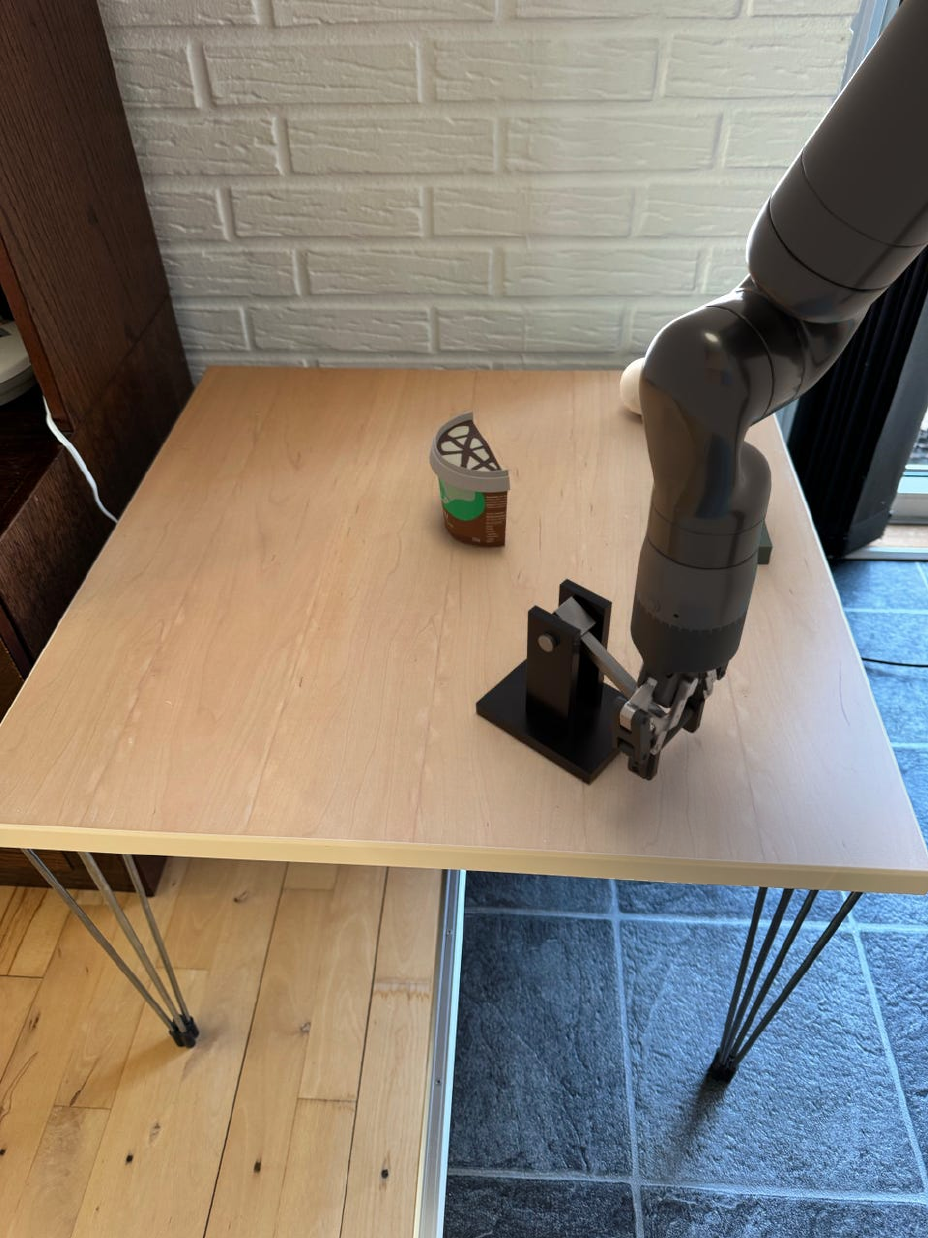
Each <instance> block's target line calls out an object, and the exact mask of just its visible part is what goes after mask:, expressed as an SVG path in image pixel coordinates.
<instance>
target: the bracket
mask: <svg viewBox="0 0 928 1238" xmlns="http://www.w3.org/2000/svg"><path fill="white" fill-rule="evenodd" d="M558 586H559V587H558V603H557V604H558V605H557V608H558V607H560V606H561V605H562V604H563V603H564V602H565V601H567V600H568V599H569V598H570V597H573V599H574V600H575V601H576V602H577V603H578V604H579V605H580V606H581V607H582V608H583V609H584V610H585V611H586V612H587V613H588V614H589V615H590V616H591V618H592V619H593V620H594V621H595V622H596V623H595V624H594V625H593V626H592V627H591V628H590V629H589V630H588V631H589V632H590V633H591V634H592V635H593V636H594V637H595V638H596V639H597V640H598V642H599V643H600V644H601V645H602V646H603V647H604V648H605V649H606V650H607V651H608V647H609V638H610V637H609V635H610V627H611V618H612V607H613V602H612V601H611V600H610V599H607V598H606V597H603V596H601V595H600V594H597V593H595V592H594V591H592V590H590V589H588V588H587V587H585V586H583V585H580V584H579V583H576V582H574V581H573V580H571V579H569V578H565V579H564V580H563V581H562V582H560V584H559V585H558ZM526 622H527V625H526V626H527V627H526V658H525V659H523V661H521V663H519V664H518V665H517V666H516V667H515V668H514V669H513V670H511V671H510V672H509V673H507V675H506V676H504V677H503V678H502V679H501V680H500V681H498V683H497V684H495V685H494V686H493V687H492V688H490V690H489V691H488V692H486V693H485V694H484V695H483V696H482V697H481V698H480V699H478V700H477V701H476V702H475V712H476V714H478V715H479V716H480V717H482V718H483V719H485V720H487V721H489V722H490V723H491V724H493V725H495V726H496V727H498V728H499V729H501V730H503V731H504V732H505V733H507V734H509V735H510V736H512V737H514V738H515V739H517V740H518V741H520V742H521V743H523V744H525V745H526V746H527V747H529V748H531V749H532V750H534V751H535V752H537V753H538V754H540V755H542V756H543V757H545V758H546V759H548V760H550V761H551V762H552V763H554V764H555V765H557V766H559V767H561V768H562V769H564V771H566V772H568V773H570V774H571V775H573V776H575V778H577V779H579V780H580V781H582V782H584V783H585V784H587V785H591V783H593V781H594V780H596V778H597V777H598V776H599V775H600V774H601V772H603V771H604V770H605V769H606V767H607V766H609V764H611V762H612V761H613V760H614V759H615V758H616V757H617V756H618V755H619V754H620V753H621V752H620V751H618V750H617V749H615V748H613V746H612V726H611V706H612V703H613V701H614V700H615V699H616V698H617V697H619V696H620V697H622V698H624V699H625V700H627V701H629V700H628V699H627V698H626V697H625V696H624V694H623V693H622V692H621V691H620V690H619V689H618V688H616V687H614V686H611V685H610V684H608V683H606V682H605V677H606V675H605V674H604V673H603V672H602V671H601V670H600V669H599V668H598V667H597V666H596V665H595V664H594V663H593V662H592V660H591V659H590V658H589V657H588V656H587V655H586V654H585V653H584V652H583V651H582V650H581V649H580V639H581V629H579V628H577V627H575V626H573V625H571V624H570V623H568V622H566V621H564V620H562V619H560V618H559V617H557V616H555V615H553V614H552V613H551V612H550V611H547V610H546V609H544V608H542V607H541V606H539V605H537V604H534V605H533V606H532V607H530V609H528V611H527V621H526Z"/></svg>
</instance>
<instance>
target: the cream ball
mask: <svg viewBox="0 0 928 1238" xmlns="http://www.w3.org/2000/svg"><path fill="white" fill-rule="evenodd" d="M644 358H645V356H643V357H641V358H638V359H636V360H634V361H633V362H631V363H630V364H629V365H628V366H627V367H626V368H625V369H624V371H623V373H622V375H621V378H620V382H619V392H620V393H619V394H620V397H621V400H622V402H623V403H624V405H625V406H626V407H627V409H628V410H629V411H631V412H633V413H634V414H637V415H640V416H641V410H640V405H639V396H638V383H639V376H640V371H641V367H642V363H643V361H644Z"/></svg>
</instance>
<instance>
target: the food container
mask: <svg viewBox="0 0 928 1238" xmlns="http://www.w3.org/2000/svg"><path fill="white" fill-rule="evenodd" d="M429 451H430V452H429V457H428V459H429V465H430V467H431V470H432V472H433V473H434V474H435V475H436V476H437V480H438V487H439V494H440V501H441V508H442V513H443V515H442V517H443V521H444V523H443V524H444V527H445V530H446V531H447V533H448V534H449V535H450V536H451V537H452V538H454V539H455V540H457V541H458V542H460V543H463V544H465V545H469V546H473V547H478V548H497V547H503V546H506V532H507V511H508V493H509V491H511V483H510V476H509V475H510V474H509V469H502V468H501V466H500V464H499V462H498V461H497V459H496V456H495V454H494V453H493V450H492V448H491V447H490V445H489V443H488V442H487V440H486V439H485V438H484V437H483V435H482V434H481V432H480V431H479V428H478V427H477V426H476V424H475V422H474V411H473V410H472V411H469V412H468V411H467V412H465V413H461V414H458V415H456V416H453V418H450V419H448V420H447V421H445V422H444V423H443V424H442V425H440V426H439V428H438V429H437V431H436V432H435V434H434V437H433V439H432V441H431V447H430V450H429Z"/></svg>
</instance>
